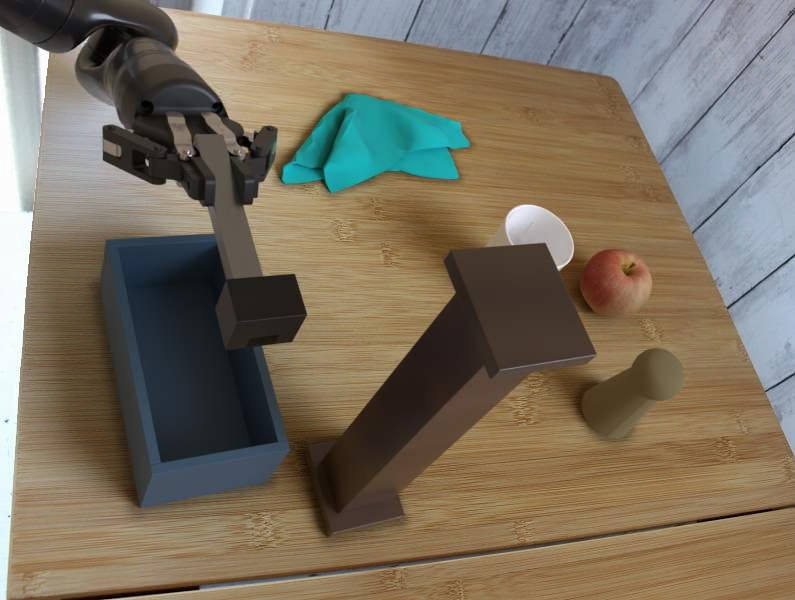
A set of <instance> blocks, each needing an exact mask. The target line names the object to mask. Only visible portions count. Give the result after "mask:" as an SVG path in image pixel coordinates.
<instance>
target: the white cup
mask: <svg viewBox="0 0 795 600" xmlns="http://www.w3.org/2000/svg"><path fill="white" fill-rule="evenodd" d="M534 243H546V245H547V247H548V249H549V251H550V253H551V255H552V258H553V260H554V262H555V264H556V266H557V268H558V271H559V272H560V271H561V270H563V269H564V268H565V267H566V266H567V265H568V263H570V262H571V260H572V259H573V256H574V252H575V251H574V250H575V245H574V239H573V236H572V234H571V232H570V230H569V229H568V227H567V226H566V224H565V223H564V222H563V221H562V219H560V217H558V216H557V215H555V214H554V213H553V212H551V211H550V210H548V209H546V208H544V207H542V206H538V205H536V204H530V203H529V204H519V205H516V206H514V207H512V208H511V209H510V210H509V211H508V213H506V215H505V217H504V218H503V220H502V221H501V222H500V224H499V226H498V227H497V229H496V230H495V231H494V233H493V234H492V236H491V237H490V238H489V240H488V241H487V243H486V244H485V246H484V247H494V246H508V245H521V244H534Z"/></svg>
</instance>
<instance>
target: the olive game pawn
mask: <svg viewBox="0 0 795 600" xmlns="http://www.w3.org/2000/svg"><path fill="white" fill-rule="evenodd" d="M685 383H686V371H685V367H684V365H683V363H682V362H681V361H680V360H679V358H678V357H677V355H675V354H674V353H672V352H671V351H669V350H668V349H665V348H660V347H653V348H648V349H645V350H643V351H642V352H640V353H639V354H638V355H637V356H636V358H635V359H634V360H633V362H632V363H631V366H630V367H629V368H626V369H625V370H622V371H621V372H619V373H617V374H615V375H613V376H610V377H609V378H607V379H605V380H603V381H601V382H599V383H598V384H596V385H594V386H591V387H590V388H589V389H587V390H586V391H585V392H584V393H583V395H582V397H581V402H580V406H581V413H582V415H583V418H584V420H585V422H586V423H587V424H588V426H589V427H590V428H591V429H592V430H593V431H594V432H595V433H596V434H598V435H600V436H601V437H603V438H605V439H611V440H615V439H621V438H622V437H624V436H625V435H627V433H629V432H630V430H632V428H634V427H635V426H636V425H637V424H638V422H640V421H641V420H642V419H643V418H644V417H645V416H646V415H647V414H648V413H649V412H650V411H651V410H652V409H653V407H655V406H656V405H657V403H658V402H662V401H663V402H664V401H668V400H671V399H673V398H674V397H676V396H677V395H678V394H680V393H681V391H682V390H683V389H684V386H685Z"/></svg>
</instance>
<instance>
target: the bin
mask: <svg viewBox="0 0 795 600" xmlns="http://www.w3.org/2000/svg"><path fill="white" fill-rule="evenodd" d="M225 282H226V276H225V272H224V268H223V264H222V261H221V257H220V253H219V249H218V245H217V241H216V238H215V234H214V232H213V233H198V234H180V235H179V234H178V235H162V236H143V237H142V236H141V237H129V238H128V237H127V238H126V237H125V238H108V239H107V238H106V239H105V243H104V250H103V257H102V263H101V270H100V277H99V284H98V292H99V299H100V303H101V308H102V313H103V314H102V315H103V320H104V324H105V330H106V335H107V340H108V346H109V352H110V356H111V363H112V367H113V373H114V378H115V384H116V390H117V396H118V399H119V405H120V410H121V415H122V421H123V426H124V432H125V437H126V443H127V449H128V453H129V459H130V464H131V471H132V475H133V481H134V485H135V491H136V492H135V493H136V497H137V502H138V508H139V509H144V508H149V507H154V506H160V505H164V504H168V503H169V504H170V503H173V502H180V501H184V500H185V501H186V500H189V499H194V498H198V497H199V498H200V497H204V496H210V495H213V494H218V493H223V492H227V491H234V490H238V489H243V488H248V487H253V486H258V485H264V484H267V483H268V482H269V480H270V479H271V477H272V476H273V475H274V473H275V472H276V470H277V469H278V468H279V466H280V465H281V464H282V462H283V460H284V459H285V458H286V456H287V455H288V454H289V452H290V450H291V448H290V443H289V440H288V435H287V432H286V429H285V425H284V422H283V417H282V415H281V411H280V407H279V404H278V403H279V402H278V399H277V396H276V391H275V389H274V386H273V381H272V377H271V374H270V370H269V367H268V363H267V359H266V356H265V353H264V348H263V346H256V347H248V348H240V349H232V350H225V346H224V342H223V338H222V334H221V330H220V326H219V322H218V318H217V314H216V310H215V308H216V305H217V303H218V300H219V298H220V295H221V292H222V290H223V287H224V284H225Z"/></svg>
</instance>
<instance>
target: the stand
mask: <svg viewBox="0 0 795 600" xmlns="http://www.w3.org/2000/svg"><path fill="white" fill-rule="evenodd" d="M443 264H444V267H445V269H446V272H447V274H448V277H449V280H450V282H451V284H452V287H453V290H454V292H455V293H454V294H453V296H452V297H451V298H450V300H448V301H447V303H446V304H445V306H444V307H443V308H442V310H440V312H439V313H438V314H437V316H435V318H434V319H433V321H432V322H431V323H430V324H429V325H428V327H427V328H426V329H425V330H424V331H423V333H422V335H420V336H419V338H418V339H417V341H416V342H415V343H414V344H413V345H412V347H411V348H410V349H409V351H408V352H407V353H406V354H405V355H404V357H403V358H402V359H401V360H400V362H399V363H398V364H397V366H396V367H395V368H394V369H393V371H392V372H391V373H390V375H388V377H386V379H385V381H384V382H383V383H382V384H381V386H379V388H378V389H377V391H376V392H375V393H374V394H373V395H372V397H371V398H370V400H369V401H367V403H366V404H365V406H363V408H362V409H361V410H360V411H359V413H358V414H357V416H356V417H354V419H353V421H352V422H351V423H350V424H349V426H348V427H347V428H346V429H345V430H344V432H343V433H342V434H341V436H340V437H339V438H338V439H335V440H330V441H329V440H328V441H324V442H318V443H313V444H307V445H306V446H305V447H304V449H303V452H304V456H305V459H306V463H307V467H308V471H309V474H310V477H311V482H312V485H313V488H314V492H315V495H316V499H317V502H318V507H319V510H320V514H321V516H322V521H323V525H324V528H325V531H326V535H327V538H329V539H330V538H332V537H337V536H343V535H345V534H346V535H347V534H349V533H354V532H358V531H362V530H366V529H371V528H374V527H378V526H383V525H386V524H391V523H395V522H399V521H401V520H402V519H403V518H405V517H406V514H405V511H404V508H403V505H402V502H401V499H400V496H399V494H401V492H403V491H404V490H405V489H407V487H408V486H410V485H411V483H413V482H414V481H415V480H416V479H417V478H418V477H419V476H421V474H422V473H424V472H425V471H426V470H427V469H428V468H429V467H430V466H431V465H432V464H434V463H435V462H436V461H437V460H438V459H439V458H440V457H441V456H442V455H443V454H444V453H446V452H447V451H448V450H449V449H450V448H451V447H452V446H454V444H456V443H457V442H458V441H459V440H460V439H461V438H462V437H463V436H464V435H465V434H466V433H468V432H469V431H470V430H472V428H473V427H474V426H475V425H476V424H477V423H478V422H480V421H481V420H482V419H483V418H484V417H485V416H486V415H487V414H488V413H489V412H491V411H492V410H493V409H494V408H495V407H496V406H497V405H499V403H500V402H501V401H503V400H504V399H505V398H506V397H507V396H509V394H511V392H512V391H514V390H515V389H516V388H517V387H518V386H519V385H520V384H522V382H524V381H525V380H526V379H527V378H528V377H529V376H531V374H535V373H541V372H545V371H552V370H560V369H565V368H570V367H577V366H584V365H588V364H589V363H590V362H591V361H593V360H594V359H595V358H596V357H597V356H598V354H597V351H596V349H595V347H594V344H593V342H592V340H591V338H590V336H589V333H588V331H587V329H586V327H585V325H584V323H583V320H582V319H581V316H580V314H579V311H578V310H577V308H576V305H575V303H574V301H573V299H572V296H571V294H570V293H569V291H568V288H567V286H566V283H565V281H564V280H563V276H562V275H561V273H560V271H558V268H557V266H556V264H555V262H554V260H553V258H552V255H551V253H550V251H549V249H548V247H547V245H546V243H534V244H521V245H508V246H494V247H485V246H484V247H483V246H481V247H469V248H467V247H466V248H456V249H450V250H449V251H448V253H447V254H446V256H444V258H443Z"/></svg>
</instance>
